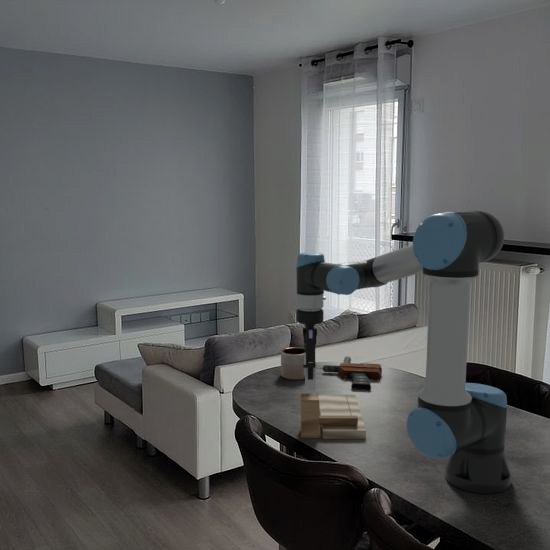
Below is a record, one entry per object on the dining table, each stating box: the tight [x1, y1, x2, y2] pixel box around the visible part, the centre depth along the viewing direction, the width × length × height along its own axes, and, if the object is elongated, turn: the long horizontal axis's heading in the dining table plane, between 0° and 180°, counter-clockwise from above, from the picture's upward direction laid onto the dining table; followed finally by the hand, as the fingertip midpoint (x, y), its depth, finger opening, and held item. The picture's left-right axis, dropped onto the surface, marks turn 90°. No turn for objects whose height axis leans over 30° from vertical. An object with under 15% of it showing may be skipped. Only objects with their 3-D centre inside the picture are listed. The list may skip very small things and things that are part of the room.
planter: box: [280, 346, 306, 381], centre depth 237 cm, size 11×11×10 cm
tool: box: [320, 356, 383, 391], centre depth 237 cm, size 4×27×30 cm
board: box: [319, 394, 367, 440], centre depth 195 cm, size 30×12×2 cm, turn 179°
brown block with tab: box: [300, 392, 358, 439], centre depth 183 cm, size 6×16×11 cm, turn 89°
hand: (309, 382), depth 182 cm, fingers open, 13 cm apart
